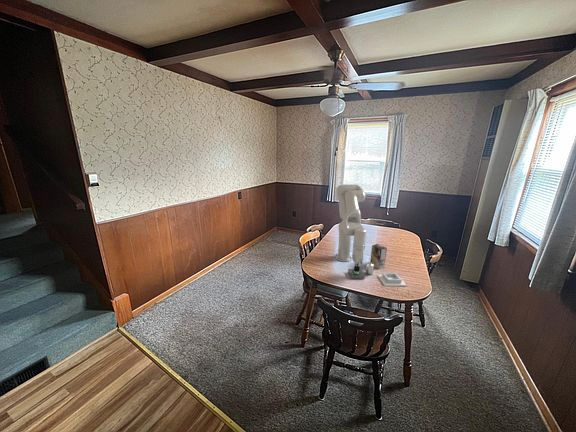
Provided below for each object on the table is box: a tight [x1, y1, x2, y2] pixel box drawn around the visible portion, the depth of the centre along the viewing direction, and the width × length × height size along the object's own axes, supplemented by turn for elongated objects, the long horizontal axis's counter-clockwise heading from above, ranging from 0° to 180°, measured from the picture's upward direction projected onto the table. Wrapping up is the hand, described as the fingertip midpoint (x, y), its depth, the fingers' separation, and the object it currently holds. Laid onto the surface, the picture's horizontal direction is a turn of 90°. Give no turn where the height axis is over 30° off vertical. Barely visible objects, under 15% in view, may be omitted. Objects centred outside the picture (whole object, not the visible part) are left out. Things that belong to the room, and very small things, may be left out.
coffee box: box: [369, 243, 388, 270], centre depth 171 cm, size 9×6×16 cm
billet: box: [364, 261, 375, 277], centre depth 161 cm, size 5×5×8 cm
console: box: [347, 268, 366, 280], centre depth 159 cm, size 9×9×3 cm
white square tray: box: [377, 272, 407, 287], centre depth 152 cm, size 12×14×4 cm
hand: (356, 270), depth 158 cm, fingers closed
